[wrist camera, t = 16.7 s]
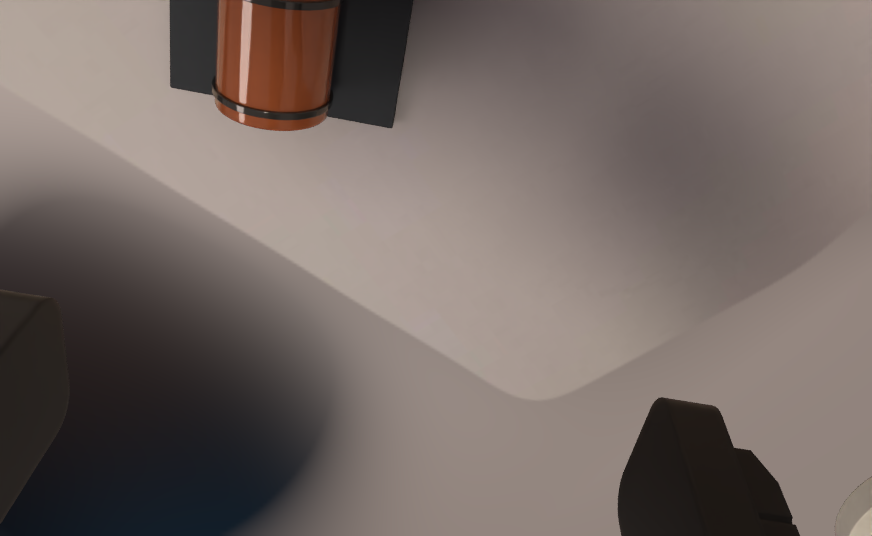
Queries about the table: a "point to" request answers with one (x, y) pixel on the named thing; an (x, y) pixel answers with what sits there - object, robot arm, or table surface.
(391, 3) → the rubber mat
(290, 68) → the banded orange roll
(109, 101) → the table surface
